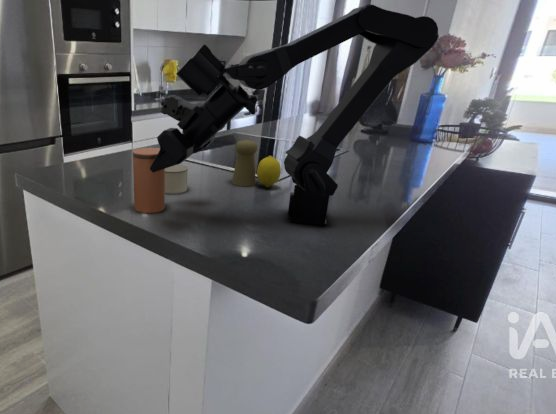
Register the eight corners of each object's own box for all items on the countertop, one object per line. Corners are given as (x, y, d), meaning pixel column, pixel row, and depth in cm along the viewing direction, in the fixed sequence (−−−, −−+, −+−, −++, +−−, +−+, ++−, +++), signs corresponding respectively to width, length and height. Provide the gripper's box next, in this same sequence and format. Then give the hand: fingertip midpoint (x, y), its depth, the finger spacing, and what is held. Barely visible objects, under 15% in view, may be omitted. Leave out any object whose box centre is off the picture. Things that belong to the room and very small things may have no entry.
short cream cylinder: (190, 186, 97) (191, 165, 95) (182, 195, 90) (183, 172, 89) (163, 183, 99) (163, 163, 97) (153, 192, 93) (153, 170, 91)
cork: (258, 186, 96) (262, 142, 92) (234, 186, 96) (237, 143, 93) (252, 179, 102) (256, 138, 98) (229, 179, 102) (232, 138, 98)
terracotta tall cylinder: (168, 204, 85) (169, 148, 80) (159, 214, 79) (158, 155, 75) (140, 201, 87) (139, 146, 83) (129, 211, 81) (127, 153, 77)
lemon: (255, 189, 94) (258, 157, 91) (256, 183, 99) (258, 152, 96) (279, 191, 92) (282, 158, 89) (278, 184, 97) (282, 153, 94)
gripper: (202, 78, 78) (154, 129, 87) (168, 82, 63) (112, 143, 71) (238, 118, 78) (185, 166, 86) (212, 133, 62) (151, 189, 70)
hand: (160, 165), depth 78 cm, fingers open, 9 cm apart
